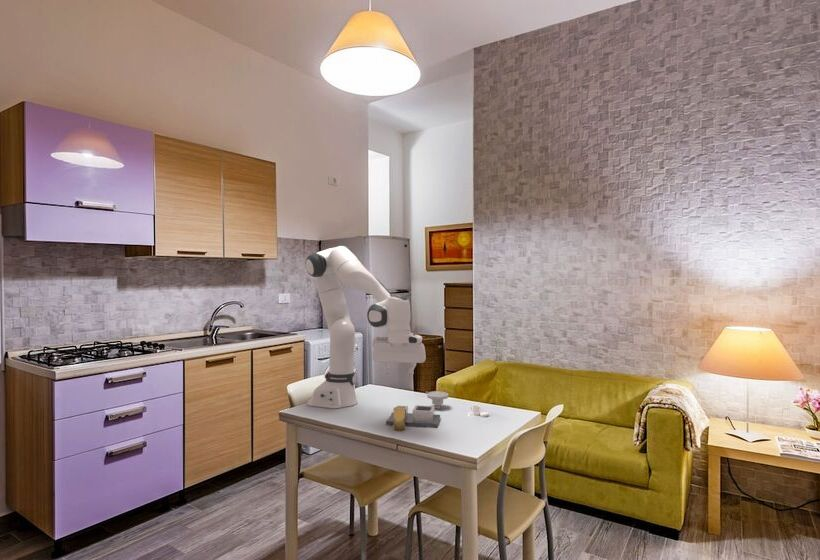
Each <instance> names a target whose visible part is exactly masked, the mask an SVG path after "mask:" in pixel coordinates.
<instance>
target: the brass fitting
mask: <svg viewBox="0 0 820 560" xmlns="http://www.w3.org/2000/svg"><path fill="white" fill-rule="evenodd" d="M393 412H394V425H392V426H393V427H392V428H393V431H395V432H403V431H405V430H406V426H405V408H404V407H397V406H394V407H393Z"/></svg>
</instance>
